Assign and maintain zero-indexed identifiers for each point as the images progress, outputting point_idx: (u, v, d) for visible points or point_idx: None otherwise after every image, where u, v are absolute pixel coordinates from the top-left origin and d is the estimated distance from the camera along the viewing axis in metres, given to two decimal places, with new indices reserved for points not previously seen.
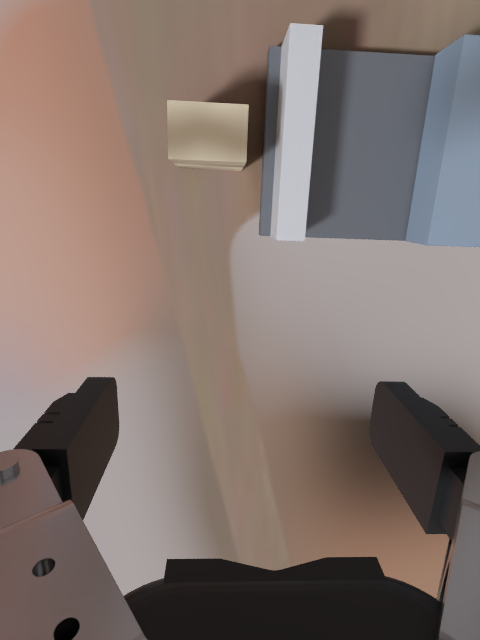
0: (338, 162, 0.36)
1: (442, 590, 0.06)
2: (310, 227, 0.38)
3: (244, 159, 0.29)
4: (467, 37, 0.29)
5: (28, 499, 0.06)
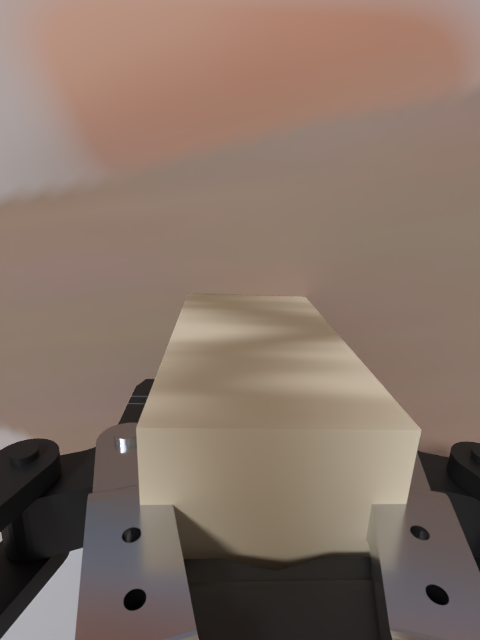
0: None
1: None
2: None
3: None
4: None
5: None
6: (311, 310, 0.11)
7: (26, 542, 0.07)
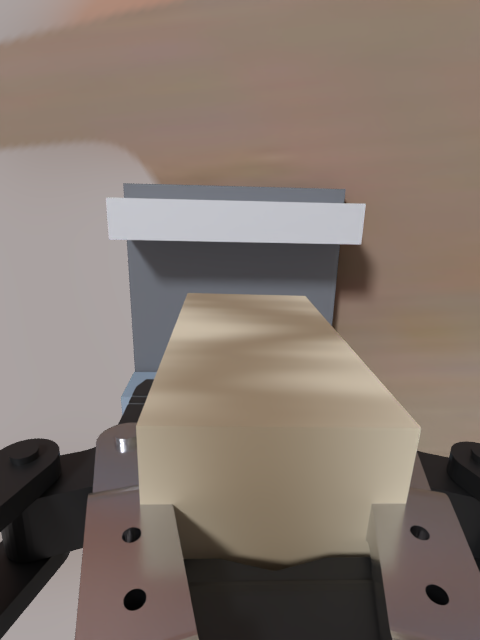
0: (220, 282, 0.29)
1: None
2: (140, 253, 0.29)
3: None
4: None
5: None
6: (311, 309, 0.11)
7: (26, 542, 0.07)
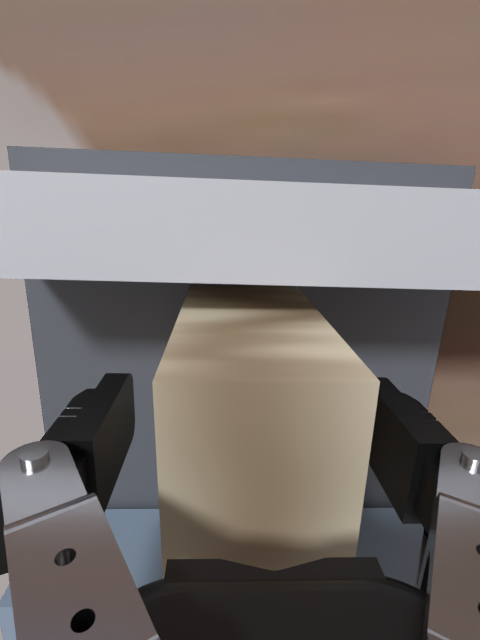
0: None
1: (422, 583, 0.06)
2: (52, 292, 0.14)
3: None
4: None
5: (56, 489, 0.07)
6: (301, 297, 0.13)
7: None
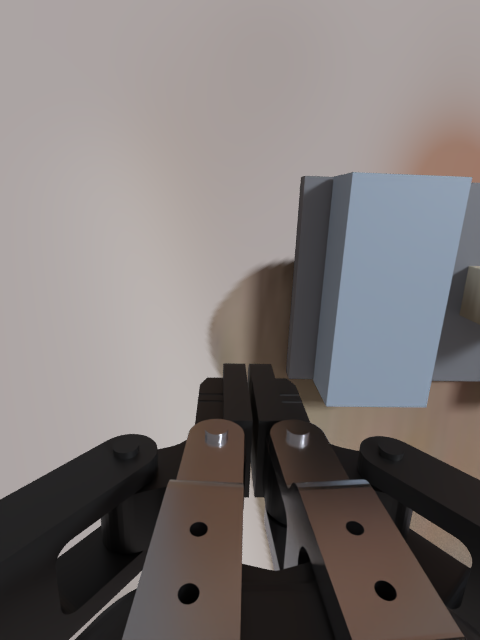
0: None
1: None
2: None
3: None
4: (422, 404, 0.28)
5: (221, 467, 0.07)
6: None
7: (119, 534, 0.07)
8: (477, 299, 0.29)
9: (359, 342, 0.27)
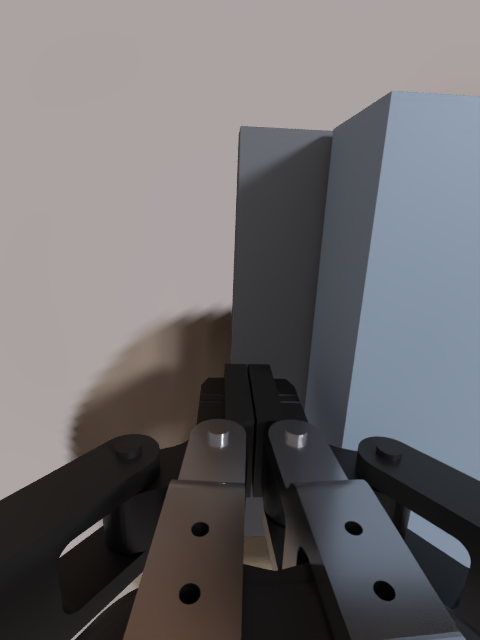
0: None
1: None
2: None
3: None
4: None
5: (223, 467, 0.07)
6: None
7: (121, 534, 0.07)
8: None
9: None
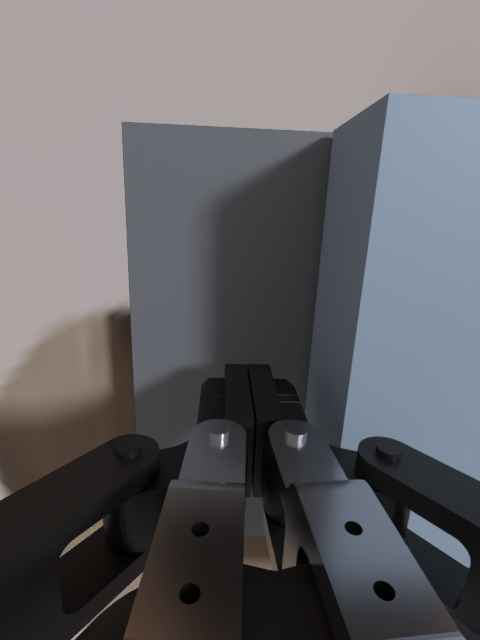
0: None
1: None
2: None
3: None
4: None
5: (223, 467, 0.07)
6: None
7: (121, 534, 0.07)
8: None
9: None
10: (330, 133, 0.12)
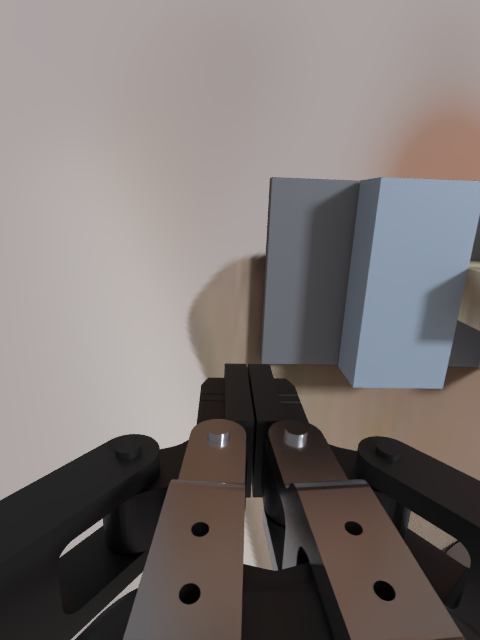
0: None
1: None
2: None
3: None
4: (440, 386, 0.31)
5: (223, 467, 0.07)
6: None
7: (121, 534, 0.07)
8: None
9: (383, 329, 0.30)
10: None
